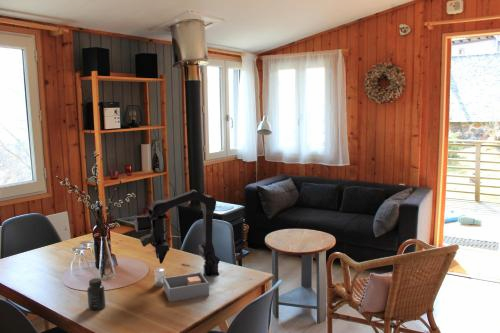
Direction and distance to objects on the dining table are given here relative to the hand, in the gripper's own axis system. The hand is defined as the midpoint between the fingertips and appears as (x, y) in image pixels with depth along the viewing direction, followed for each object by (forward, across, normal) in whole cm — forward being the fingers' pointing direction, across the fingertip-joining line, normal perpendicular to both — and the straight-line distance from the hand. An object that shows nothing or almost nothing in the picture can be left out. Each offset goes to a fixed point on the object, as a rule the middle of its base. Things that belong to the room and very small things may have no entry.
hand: (159, 260), depth 207 cm
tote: (+12, +14, +9) cm, 20 cm away
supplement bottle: (+12, +14, -29) cm, 34 cm away
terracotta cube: (+11, +14, +13) cm, 22 cm away
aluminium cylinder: (+12, 0, 0) cm, 12 cm away
